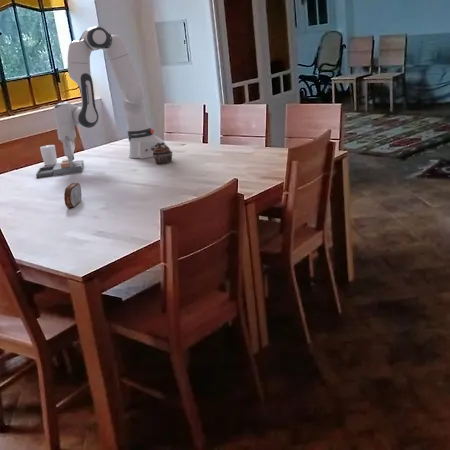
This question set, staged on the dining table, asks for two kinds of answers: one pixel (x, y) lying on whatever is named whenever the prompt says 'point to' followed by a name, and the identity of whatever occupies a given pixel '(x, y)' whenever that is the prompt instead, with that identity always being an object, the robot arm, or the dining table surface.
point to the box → (45, 172)
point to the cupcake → (162, 154)
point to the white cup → (49, 154)
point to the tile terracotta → (65, 164)
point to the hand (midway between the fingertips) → (71, 161)
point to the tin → (72, 195)
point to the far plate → (69, 168)
